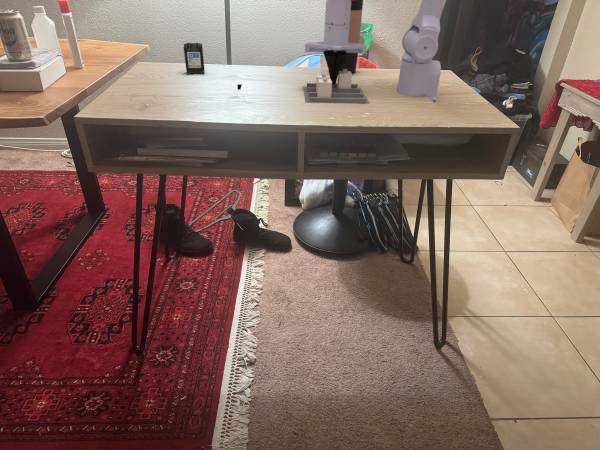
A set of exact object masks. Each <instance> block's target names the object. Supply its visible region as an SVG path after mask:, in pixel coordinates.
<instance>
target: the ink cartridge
mask: <svg viewBox="0 0 600 450" xmlns="http://www.w3.org/2000/svg"><path fill="white" fill-rule="evenodd" d="M183 53H184V62H185V71H186V75H193V74H203V75H204V74H205V62H204V61H205V59H204V50H203V43H201V42H200V43H199V42H186V43H184V44H183Z"/></svg>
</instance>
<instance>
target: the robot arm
mask: <svg viewBox="0 0 600 450" xmlns="http://www.w3.org/2000/svg"><path fill="white" fill-rule="evenodd" d="M446 2H447V0H421V3H420V5H419V9H418V11H417V14H416V15H415V16H414V18H413V19H412V21H411V24H410V26H409V28H408V30H407V31H406V32H405V33H404V34H403V36H402V39H401V45H402V49H403V50H404V53H403V55H402V57H401V64H400V70H399V77H398V80H397V81H398V82H397V89H396V91H397V93H399V94H401V95H404V96H409V97H422V96H424V97H425V96H426V97H427V98H428V99H429V100H430V101H434V102H435V101H437V93H438V87H439V83H440V79H441V73H442V72H441V71H442V66H441V62H440V61H439V60H435V59H434V60H433V58H434V57H435V55H436V54H437V53H438V50H439V35H440V33H441V22H440V21H441V20H440V19H441V16H442V13H443V11H444V8H445V4H447V3H446ZM350 11H351V0H325V12H324V13H325V14H324V16H325V17H324V29H323V30H324V31H323V41H312V42H311V41H310V42H309V41H305V42H304V52H305V53H323V56H324V59H325V61H326V67H327V69H328V75H329V76H330V79H331V81H332V84H337V82H338V74H339V72H340V69H341V67H342V65H343V63H344V62H345V60H346V57H347V55H346V53H358V54H364V55H366V53H367V44H366V43H360V42H359V43H348V35H349V23H350ZM331 49H332V50H331Z"/></svg>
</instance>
